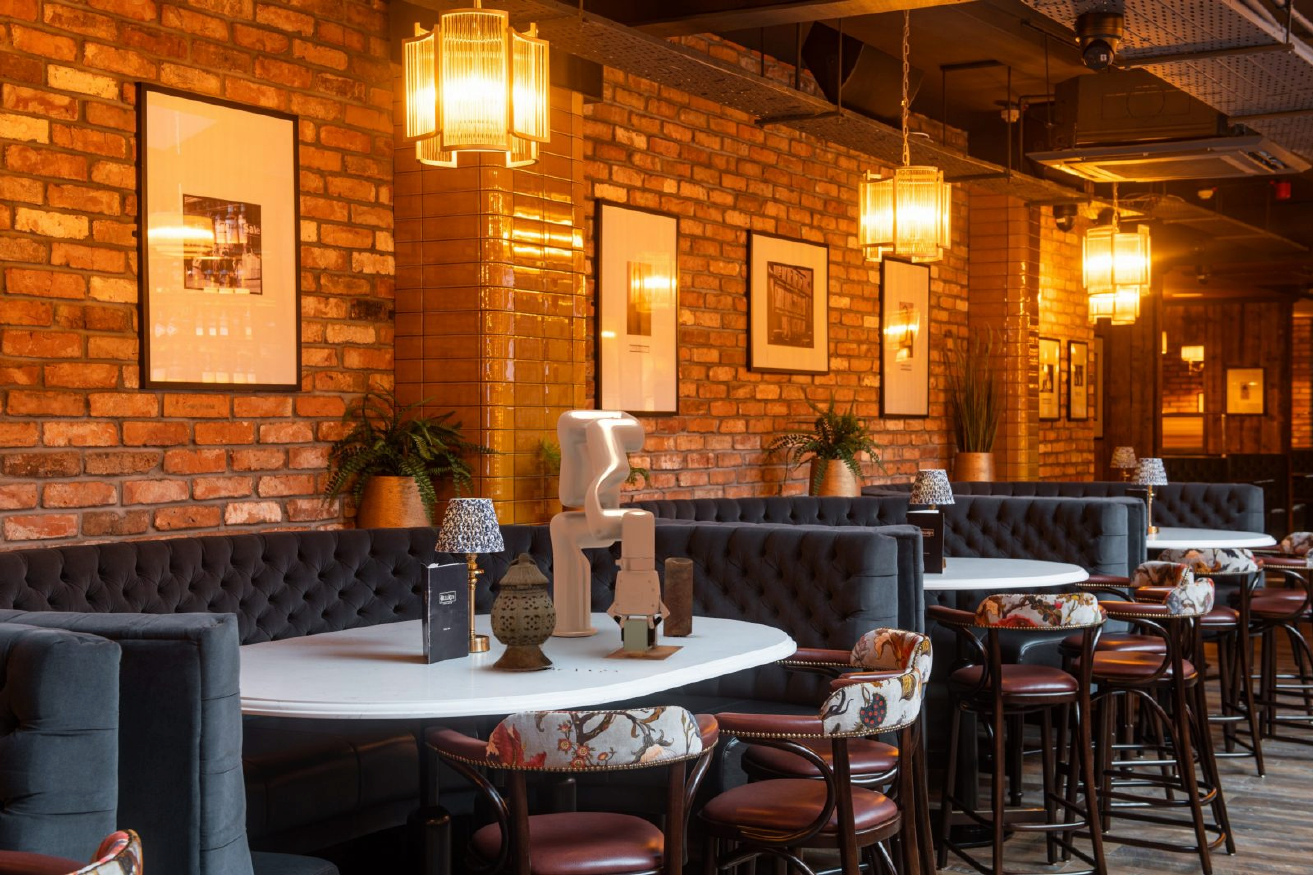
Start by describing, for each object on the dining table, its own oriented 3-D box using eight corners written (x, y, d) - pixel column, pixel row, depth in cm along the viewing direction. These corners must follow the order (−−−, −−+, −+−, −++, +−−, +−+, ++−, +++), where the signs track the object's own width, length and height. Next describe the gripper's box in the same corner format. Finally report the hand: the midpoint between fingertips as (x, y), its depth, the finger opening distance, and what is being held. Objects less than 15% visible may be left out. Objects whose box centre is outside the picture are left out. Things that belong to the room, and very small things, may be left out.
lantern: (478, 669, 298) (478, 554, 299) (512, 660, 311) (511, 549, 312) (535, 673, 293) (535, 556, 293) (566, 664, 306) (566, 551, 306)
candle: (694, 635, 351) (694, 557, 352) (692, 639, 344) (691, 559, 344) (664, 635, 352) (664, 557, 352) (661, 639, 345) (661, 559, 345)
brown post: (644, 648, 323) (644, 621, 323) (646, 647, 326) (646, 619, 326) (654, 649, 323) (654, 621, 323) (657, 647, 325) (657, 620, 325)
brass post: (631, 656, 311) (631, 627, 312) (634, 654, 314) (634, 626, 314) (642, 656, 311) (642, 628, 311) (645, 655, 313) (645, 626, 313)
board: (602, 661, 309) (602, 657, 309) (627, 647, 331) (627, 644, 331) (663, 663, 306) (663, 660, 306) (684, 649, 327) (684, 646, 327)
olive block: (624, 650, 310) (624, 620, 311) (629, 646, 316) (629, 618, 316) (646, 650, 309) (646, 621, 309) (651, 647, 314) (651, 618, 314)
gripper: (597, 565, 311) (597, 646, 311) (670, 567, 307) (670, 649, 307) (606, 563, 318) (606, 641, 318) (678, 564, 314) (678, 644, 314)
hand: (638, 644), depth 312 cm, fingers closed on olive block, 4 cm apart
